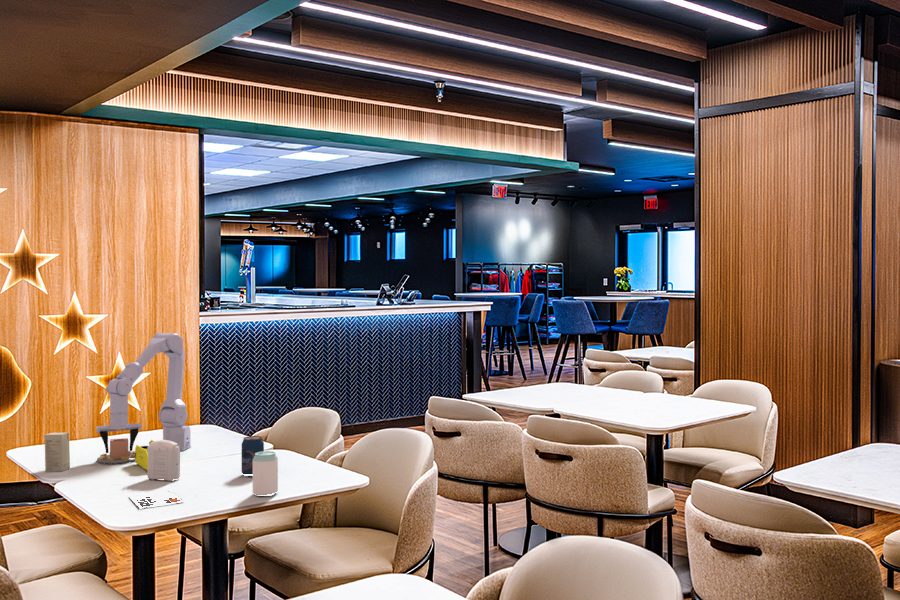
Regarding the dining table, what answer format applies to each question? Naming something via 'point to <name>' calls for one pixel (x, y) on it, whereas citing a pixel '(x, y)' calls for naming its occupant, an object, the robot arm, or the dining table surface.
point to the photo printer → (163, 460)
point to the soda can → (250, 452)
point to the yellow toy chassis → (142, 456)
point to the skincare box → (57, 452)
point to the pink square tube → (119, 448)
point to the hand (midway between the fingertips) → (119, 451)
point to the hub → (111, 460)
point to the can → (265, 473)
